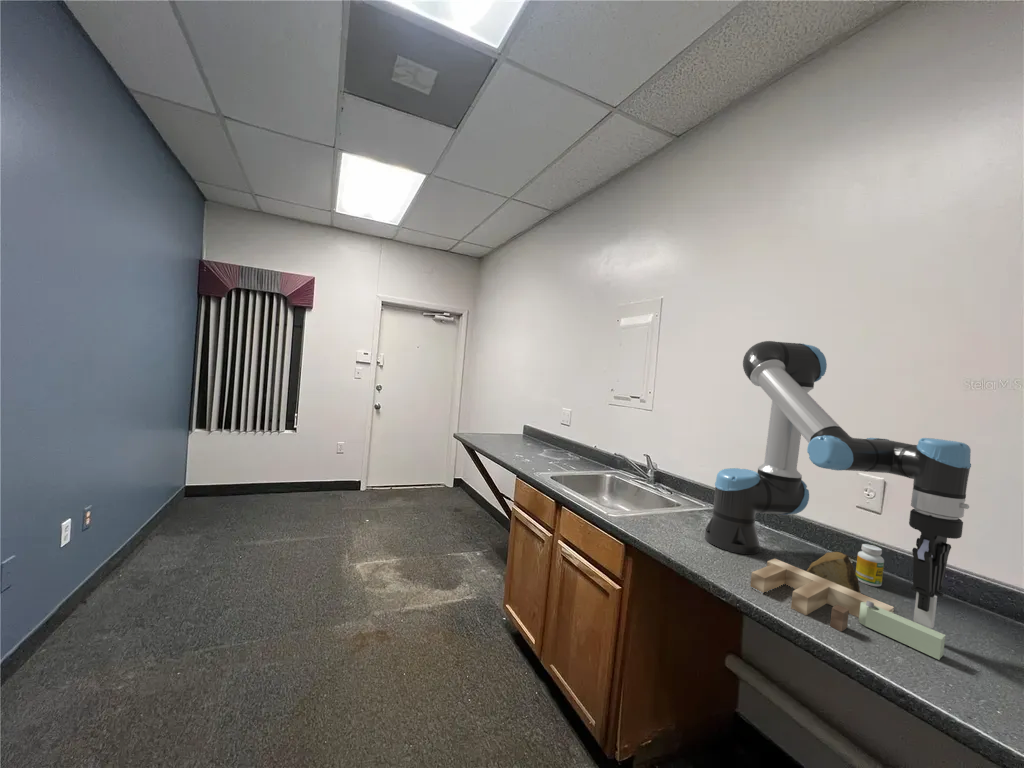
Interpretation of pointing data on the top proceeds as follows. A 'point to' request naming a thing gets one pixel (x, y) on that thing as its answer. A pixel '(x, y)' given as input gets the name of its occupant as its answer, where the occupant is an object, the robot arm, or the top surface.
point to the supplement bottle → (870, 565)
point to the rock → (836, 570)
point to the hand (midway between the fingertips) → (923, 623)
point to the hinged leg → (902, 629)
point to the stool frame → (812, 592)
